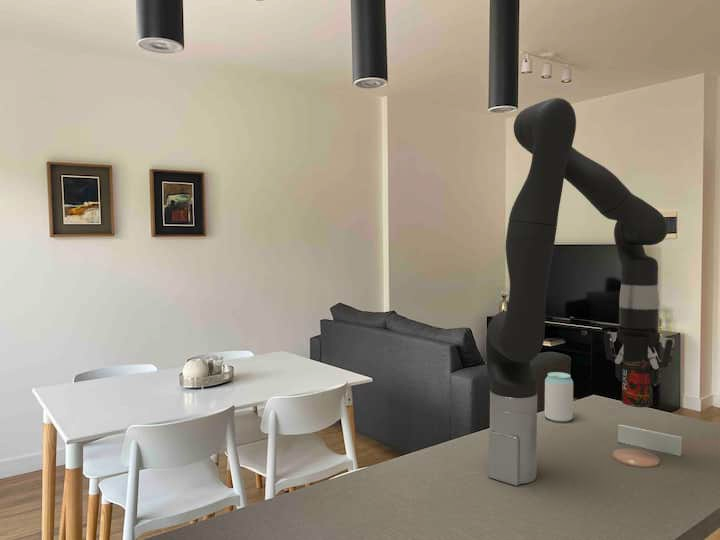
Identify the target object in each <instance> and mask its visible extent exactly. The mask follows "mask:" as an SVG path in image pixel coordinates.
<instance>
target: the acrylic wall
mask: <svg viewBox="0 0 720 540" xmlns="http://www.w3.org/2000/svg"><path fill="white" fill-rule="evenodd" d="M682 439H683V437H682V436H678V435H674V434H673V435H672V434H669V433H663V432H659V431H653V430H649V429H644V428H639V427H634V426H631V425H630V426H629V425H626V424H625V425H624V424H617V443H620V442H621V444H624V443H625V444H626V445H629V444H630V446H633V445H634V446H633V447H638V446H639V447H638V448H642V447H643V449H647V450H653V451H657V452H661V453H664V454H665V453H666V454H669V455H675V456H678V457H681V456H682V447H683V446H682V444H683V443H682V442H683V441H682Z"/></svg>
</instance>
